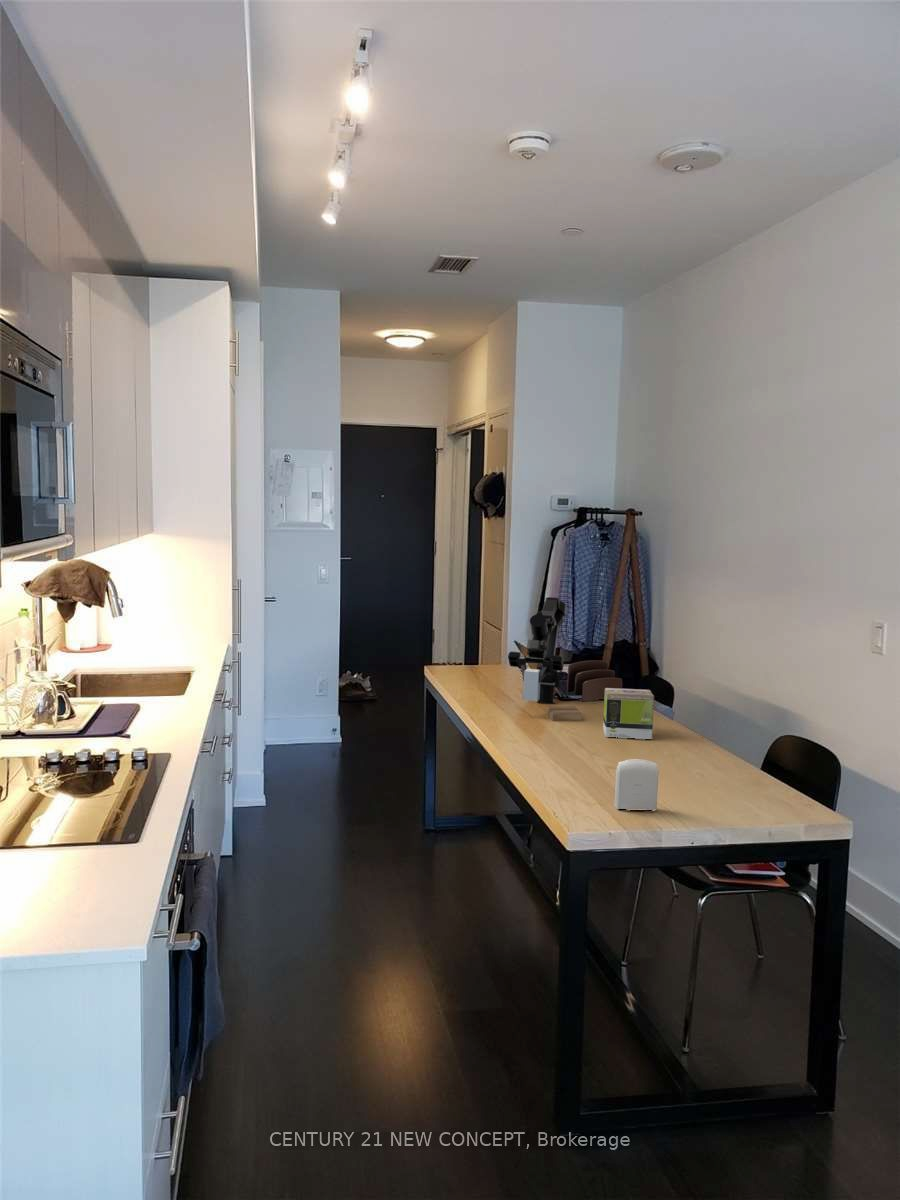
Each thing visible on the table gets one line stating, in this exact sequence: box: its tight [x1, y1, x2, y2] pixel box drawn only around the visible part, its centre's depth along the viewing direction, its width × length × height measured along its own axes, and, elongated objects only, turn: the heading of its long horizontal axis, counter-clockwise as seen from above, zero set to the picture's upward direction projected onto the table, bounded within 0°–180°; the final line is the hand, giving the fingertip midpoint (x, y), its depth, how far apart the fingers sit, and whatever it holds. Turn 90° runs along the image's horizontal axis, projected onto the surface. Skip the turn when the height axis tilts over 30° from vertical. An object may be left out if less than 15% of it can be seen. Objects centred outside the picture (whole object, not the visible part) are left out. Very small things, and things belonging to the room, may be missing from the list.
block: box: [545, 705, 583, 723], centre depth 308 cm, size 10×10×4 cm
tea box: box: [602, 688, 655, 740], centre depth 287 cm, size 15×10×15 cm, turn 84°
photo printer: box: [614, 758, 660, 810], centre depth 216 cm, size 10×4×12 cm, turn 88°
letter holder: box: [566, 659, 623, 703], centre depth 343 cm, size 10×20×14 cm, turn 121°
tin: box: [522, 668, 541, 702], centre depth 303 cm, size 4×5×10 cm
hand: (531, 681), depth 301 cm, fingers closed on tin, 5 cm apart
